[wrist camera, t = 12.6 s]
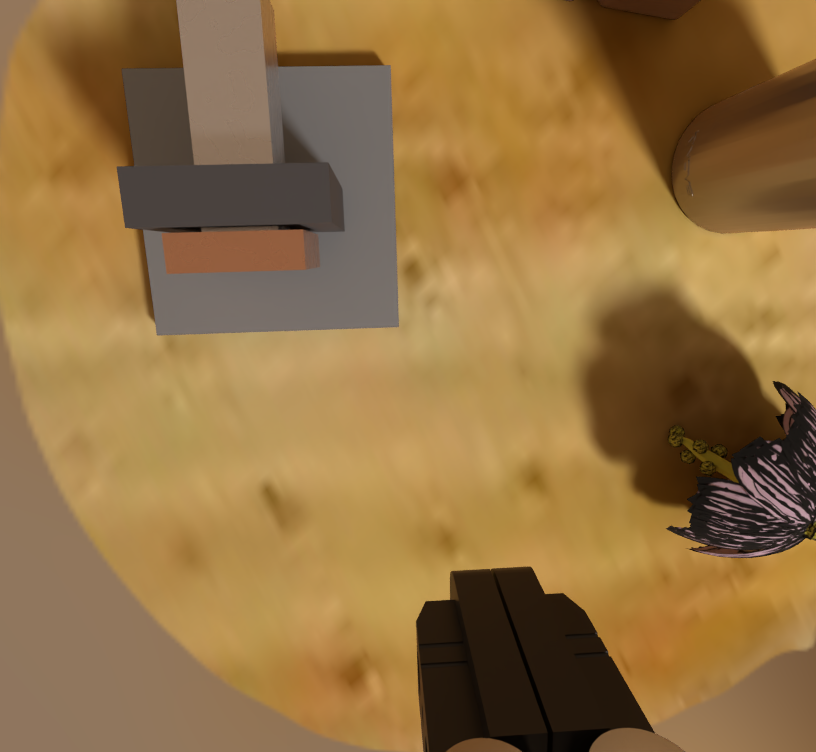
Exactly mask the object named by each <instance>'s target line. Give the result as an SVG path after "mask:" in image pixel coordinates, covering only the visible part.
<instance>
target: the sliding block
mask: <svg viewBox="0 0 816 752" xmlns="http://www.w3.org/2000/svg"><path fill="white" fill-rule="evenodd" d="M176 3H177V12H178V21H179V30H180V39H181V49H182V58H183V67H184V76H185V85H186V94H187V103H188V112H189V122H190V131H191V140H192V149H193V158H194V165H222V164H271V163H285V153H284V140H283V126H282V113H281V99H280V86H279V72H278V59H277V45H276V32H275V18H274V9H273V7H272V5H271V2H270V0H176ZM201 231H202V232H185V233H162V241H163V249H164V257H165V265H166V273H167V274H182V273H215V272H249V271H283V270H307V269H312V268H317V267H320V254H319V239H318V234H315V233H312V232H309V231H306V230H303V229H299V230H290V227H289V226H286V225H282V226H243V227H205V228H201Z"/></svg>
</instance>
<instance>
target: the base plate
mask: <svg viewBox="0 0 816 752" xmlns="http://www.w3.org/2000/svg"><path fill="white" fill-rule="evenodd" d="M278 72H279V86H280V99H281V113H282V126H283V140H284V153H285V163H319V162H328V163H329V164H330V166H331V168H332V170H333V172H334V174H335V176H336V177H337V179H338V181H339V183H340V185H341V187H342V189H343V207H344V226H345V232H312V233H315V234H318V239H319V254H320V267H317V268H312V269H307V270H283V271H249V272H215V273H182V274H167V273H166V265H165V257H164V249H163V241H162V233H169V232H160V231H151V230H143V234H144V241H145V249H146V256H147V264H148V271H149V279H150V286H151V294H152V301H153V309H154V316H155V324H156V332H157V335H182V334H211V333H240V332H268V331H297V330H326V329H354V328H383V327H399V317H398V286H397V254H396V223H395V192H394V160H393V129H392V97H391V66H390V65H379V66H298V67H278ZM122 76H123V83H124V91H125V98H126V106H127V113H128V121H129V128H130V136H131V143H132V151H133V158H134V166H173V165H194V158H193V149H192V140H191V131H190V122H189V112H188V103H187V94H186V85H185V76H184V68H134V69H122Z"/></svg>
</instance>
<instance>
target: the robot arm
mask: <svg viewBox="0 0 816 752" xmlns="http://www.w3.org/2000/svg"><path fill="white" fill-rule="evenodd" d="M672 185H673V189H674V194H675V197H676V199H677V201H678V204H679V206H680V208H681V209H682V210H683V212H684V213H685V214H686V216H687V217H688V218H689V219H690V220H692V221H693V222H694V223H695V224H697V225H698V226H700V227H702V228H704V229H706V230H708V231H712V232H717V233H741V232H759V231H779V230H795V229H811V228H816V59H814V60H812V61H810V62H808V63H805V64H803V65H801V66H799V67H797V68H794V69H792V70H790V71H788V72H785V73H783V74H781V75H779V76H777V77H774V78H772V79H770V80H768V81H765V82H763V83H761V84H759V85H756V86H754V87H752V88H749V89H747V90H745V91H743V92H741V93H738V94H736V95H734V96H732V97H730V98H727V99H725V100H723V101H721V102H719V103H717V104H715V105H713V106H711V107H709V108H707V109H706V110H705V111H703V112H702V113H701V114H699V115H698V116H697V117H696V118H695V119H694V120H693V121H692V123H691V124H690V125H689V126H688V127H687V129H686V130H685V132H684V134H683V135H682V137H681V139H680V140H679V143H678V145H677V148H676V151H675V154H674V158H673V164H672ZM416 630H417V664H418V694H419V706H420V717H421V729H422V740H423V751H424V752H685V751H684V750H682V749H681V748H680V747H678V746H677V745H676V744H674V743H673V742H671V741H669V740H668V739H666V738H664V737H662V736H659V735H658V734H655V732H654V731H653V729H652V727H651V725H650V724H649V722H648V720H647V718H646V717H645V715H644V713H643V712H642V710H641V708H640V706H639V705H638V703H637V701H636V699H635V698H634V696H633V694H632V692H631V691H630V689H629V687H628V685H627V684H626V682H625V680H624V678H623V677H622V675H621V673H620V672H619V670H618V668H617V666H616V665H615V663H614V661H613V659H612V658H611V656H610V657H609V655H608V651H607V649H606V647H605V645H604V644H603V642H602V640H601V638H600V637H598V635H597V631H596V630H595V628H594V626H593V625H592V623H591V621H590V619H589V618H588V616H587V614H586V612H585V611H584V610H583V609H582V608H580V607H579V606H578V605H577V604H576V603H574V602H573V601H572V600H571V599H569V598H568V597H567V596H566V595H565V594H563V593H558V594H545V593H544V591H543V589H542V587H541V585H540V583H539V581H538V579H537V577H536V575H535V573H534V571H533V569H532V568H531V567H513V568H496V569H491V571H490V569H481V570H463V571H451V573H450V600H441V601H426V602H425V604H424V606H423V608H422V610H421V612H420V615H419V617H418V619H417V621H416Z"/></svg>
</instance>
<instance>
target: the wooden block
mask: <svg viewBox="0 0 816 752" xmlns="http://www.w3.org/2000/svg"><path fill="white" fill-rule="evenodd" d="M566 1H573V0H566ZM598 1H599V3H600V5H601V6H603V7H607V8H613V9H618V10H624V11H629V12H635V13H640V14H646V15H651V16H657V17H662V18H668V19H673V20H675V19H678V18H679V17H680V16H682V15H683V14H684V13H686V12H687V11H688V10H689V9H691V8H692V7H693V6H694V5H696V4H697V3H698V2H699V1H701V0H598Z"/></svg>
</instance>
